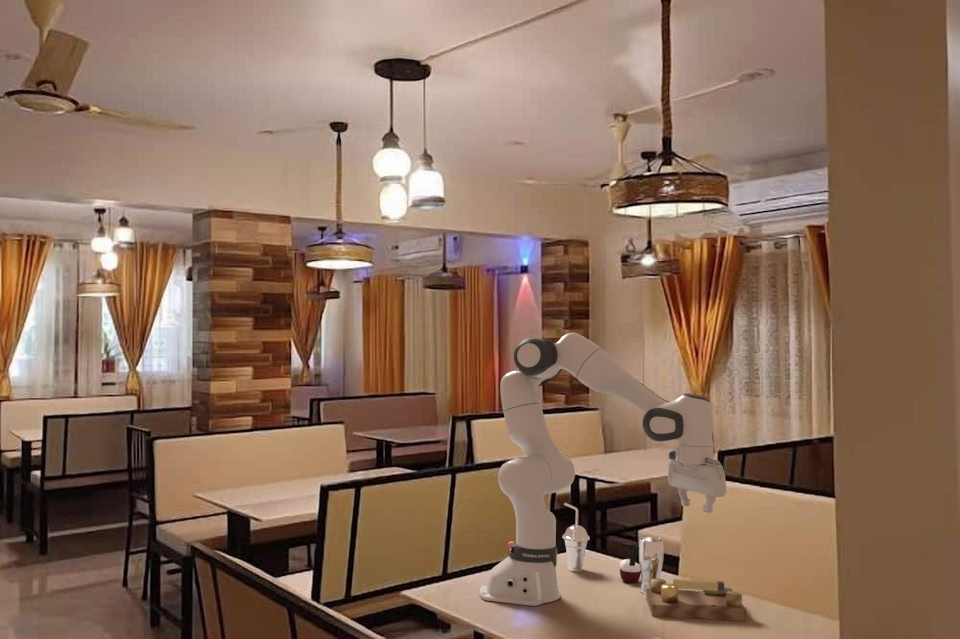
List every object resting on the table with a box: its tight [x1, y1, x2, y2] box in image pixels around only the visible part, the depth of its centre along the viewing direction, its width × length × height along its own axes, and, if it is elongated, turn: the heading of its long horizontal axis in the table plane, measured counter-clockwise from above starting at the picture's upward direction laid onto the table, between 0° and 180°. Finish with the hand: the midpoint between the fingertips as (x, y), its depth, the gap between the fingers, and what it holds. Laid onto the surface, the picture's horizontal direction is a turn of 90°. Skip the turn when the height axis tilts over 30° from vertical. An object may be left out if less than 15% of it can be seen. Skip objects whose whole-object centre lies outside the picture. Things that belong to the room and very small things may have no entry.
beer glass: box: [638, 536, 665, 595], centre depth 236 cm, size 7×7×15 cm
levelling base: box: [645, 578, 747, 622], centre depth 221 cm, size 24×14×6 cm, turn 85°
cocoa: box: [619, 544, 641, 584], centre depth 245 cm, size 10×6×12 cm, turn 162°
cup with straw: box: [562, 502, 590, 573], centre depth 257 cm, size 8×9×20 cm
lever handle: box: [661, 578, 725, 602], centre depth 218 cm, size 16×4×5 cm, turn 85°
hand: (696, 508), depth 216 cm, fingers open, 8 cm apart
